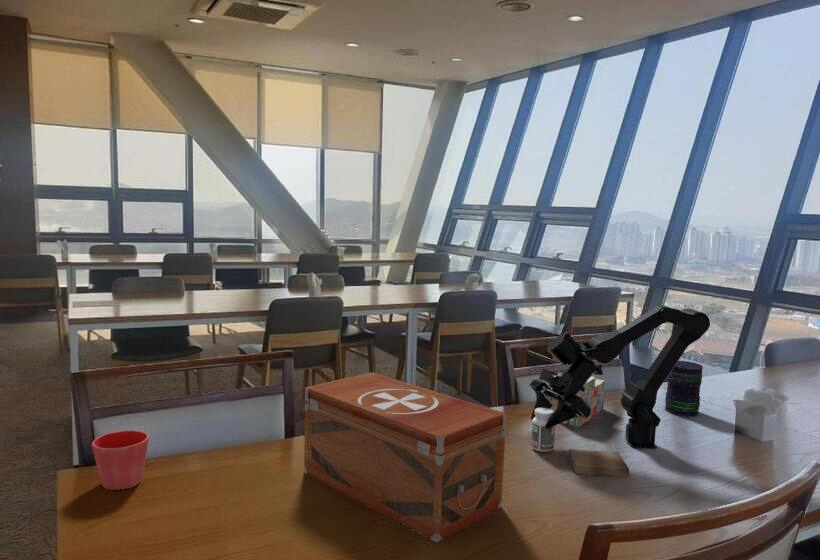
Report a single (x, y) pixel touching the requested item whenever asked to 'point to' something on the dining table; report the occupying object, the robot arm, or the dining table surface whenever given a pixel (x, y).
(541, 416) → the pill bottle
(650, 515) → the dining table surface
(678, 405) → the storage jar
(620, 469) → the wooden board
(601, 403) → the stack of blocks
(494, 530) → the dining table surface
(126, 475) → the flower pot
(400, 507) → the wooden box
